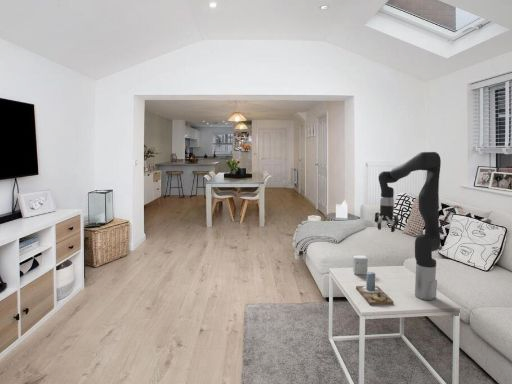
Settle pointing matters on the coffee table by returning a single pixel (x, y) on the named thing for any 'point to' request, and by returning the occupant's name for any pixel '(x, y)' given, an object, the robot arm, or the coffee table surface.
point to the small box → (360, 264)
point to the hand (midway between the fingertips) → (385, 230)
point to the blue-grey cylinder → (370, 281)
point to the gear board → (374, 296)
